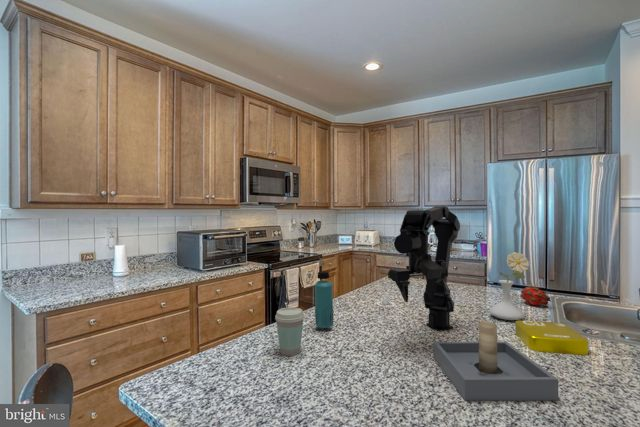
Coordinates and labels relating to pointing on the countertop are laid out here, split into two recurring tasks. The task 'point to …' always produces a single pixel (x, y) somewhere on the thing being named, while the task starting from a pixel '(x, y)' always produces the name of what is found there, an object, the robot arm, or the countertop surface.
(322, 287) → the beverage bottle
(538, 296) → the dragon fruit
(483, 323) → the birch peg
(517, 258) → the flower in vase
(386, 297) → the white ring with post
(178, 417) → the countertop surface
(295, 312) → the coffee cup
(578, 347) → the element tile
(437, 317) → the robot arm
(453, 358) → the charcoal box
